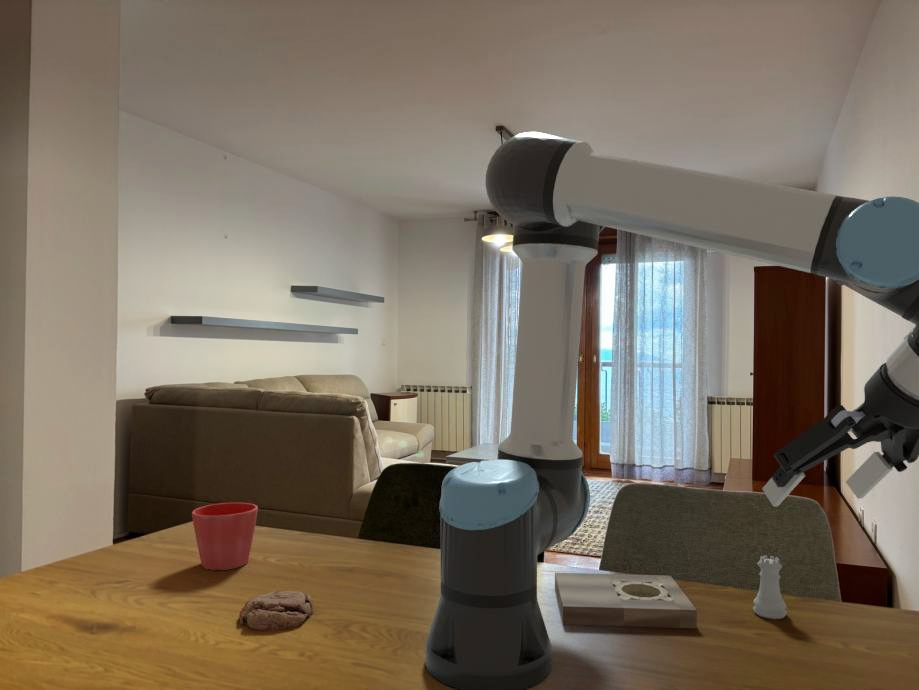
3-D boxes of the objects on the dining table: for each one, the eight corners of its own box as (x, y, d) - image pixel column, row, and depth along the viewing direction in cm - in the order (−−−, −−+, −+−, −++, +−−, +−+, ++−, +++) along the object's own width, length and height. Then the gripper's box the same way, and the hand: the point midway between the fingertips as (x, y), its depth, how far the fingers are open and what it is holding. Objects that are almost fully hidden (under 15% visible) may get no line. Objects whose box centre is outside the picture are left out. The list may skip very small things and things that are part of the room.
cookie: (327, 608, 97) (327, 587, 97) (288, 637, 87) (288, 614, 87) (268, 600, 100) (268, 580, 100) (223, 628, 90) (223, 606, 90)
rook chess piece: (780, 608, 97) (779, 554, 97) (792, 621, 93) (792, 563, 93) (748, 607, 98) (748, 553, 98) (759, 619, 93) (758, 562, 93)
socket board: (696, 628, 90) (696, 610, 90) (562, 624, 91) (563, 606, 91) (670, 591, 104) (670, 575, 104) (554, 588, 105) (554, 572, 105)
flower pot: (194, 557, 120) (194, 503, 120) (257, 552, 124) (257, 500, 124) (188, 576, 110) (189, 517, 110) (257, 570, 113) (258, 513, 114)
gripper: (975, 356, 79) (869, 464, 93) (805, 359, 72) (718, 476, 86) (1025, 403, 74) (905, 510, 88) (848, 411, 67) (748, 526, 81)
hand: (812, 493), depth 87 cm, fingers open, 13 cm apart
